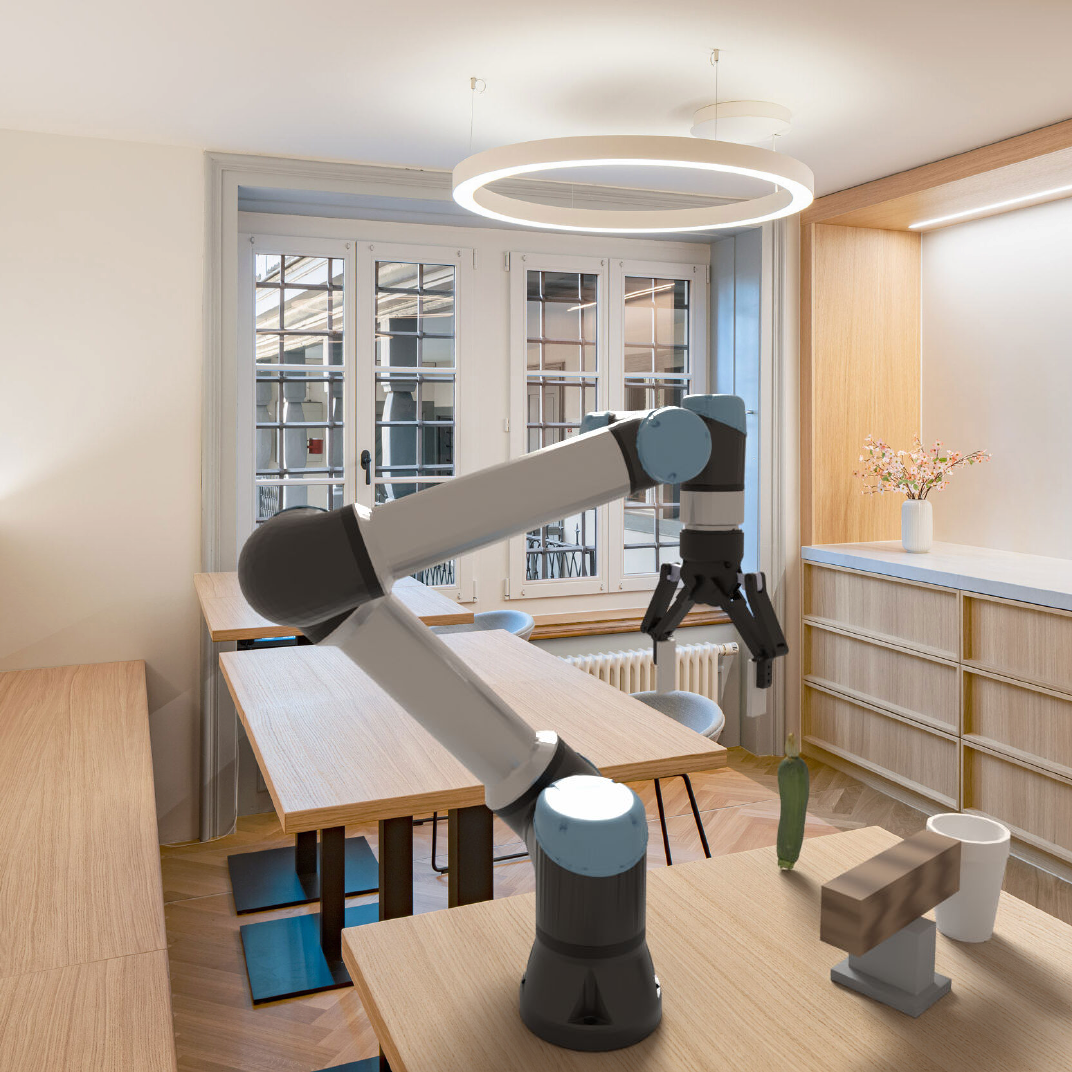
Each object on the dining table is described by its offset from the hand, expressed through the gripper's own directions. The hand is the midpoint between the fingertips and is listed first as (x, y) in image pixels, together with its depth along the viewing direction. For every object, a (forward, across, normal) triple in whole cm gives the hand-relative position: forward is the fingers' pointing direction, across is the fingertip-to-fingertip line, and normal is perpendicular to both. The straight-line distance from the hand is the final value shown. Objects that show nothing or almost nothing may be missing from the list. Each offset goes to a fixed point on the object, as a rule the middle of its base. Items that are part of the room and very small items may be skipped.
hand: (709, 703), depth 116 cm
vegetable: (+29, +3, -23) cm, 37 cm away
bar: (+21, -21, -6) cm, 30 cm away
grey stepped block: (+29, -21, -6) cm, 36 cm away
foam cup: (+29, -21, -24) cm, 43 cm away
